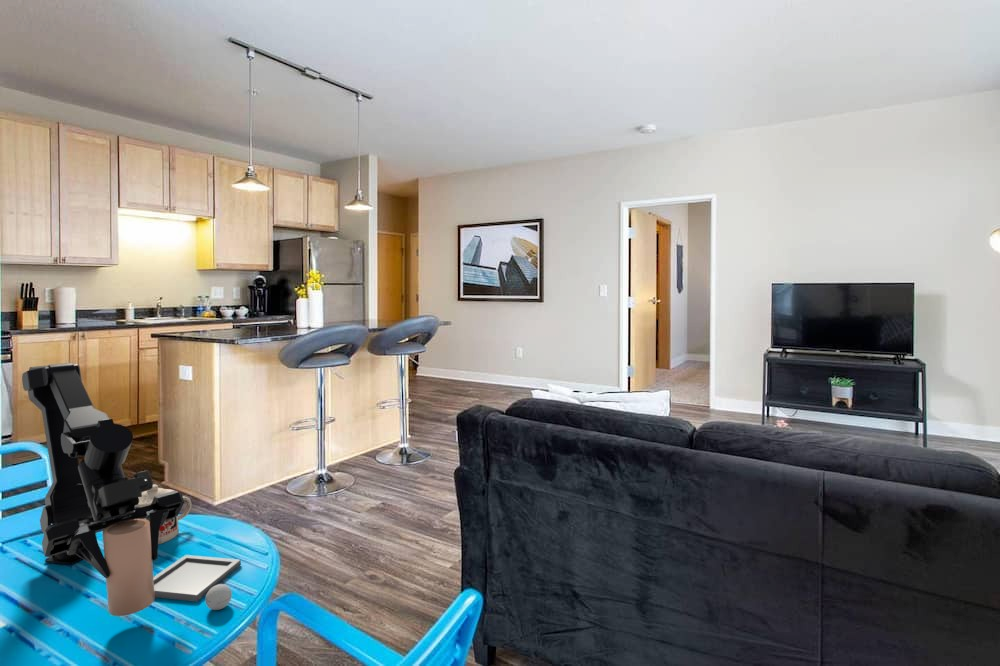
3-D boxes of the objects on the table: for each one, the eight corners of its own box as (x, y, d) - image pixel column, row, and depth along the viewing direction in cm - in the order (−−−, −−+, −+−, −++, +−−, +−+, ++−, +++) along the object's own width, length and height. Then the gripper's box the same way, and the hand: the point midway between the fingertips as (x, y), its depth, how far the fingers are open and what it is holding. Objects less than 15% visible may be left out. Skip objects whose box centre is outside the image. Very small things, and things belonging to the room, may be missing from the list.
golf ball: (200, 614, 90) (199, 592, 89) (214, 600, 94) (213, 578, 93) (224, 615, 90) (222, 592, 89) (237, 601, 94) (235, 579, 93)
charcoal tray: (136, 595, 95) (136, 588, 95) (186, 560, 107) (185, 554, 107) (197, 601, 93) (196, 595, 93) (240, 565, 105) (240, 559, 105)
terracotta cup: (98, 613, 85) (92, 534, 83) (131, 591, 91) (125, 517, 89) (133, 617, 84) (127, 537, 82) (163, 594, 90) (158, 519, 88)
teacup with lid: (140, 552, 111) (136, 497, 109) (124, 539, 116) (120, 487, 115) (201, 530, 120) (198, 480, 119) (183, 519, 126) (180, 471, 124)
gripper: (39, 475, 80) (65, 571, 74) (177, 445, 95) (207, 523, 89) (32, 511, 86) (55, 603, 80) (162, 478, 100) (190, 553, 94)
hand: (132, 568), depth 86 cm, fingers closed on terracotta cup, 6 cm apart
